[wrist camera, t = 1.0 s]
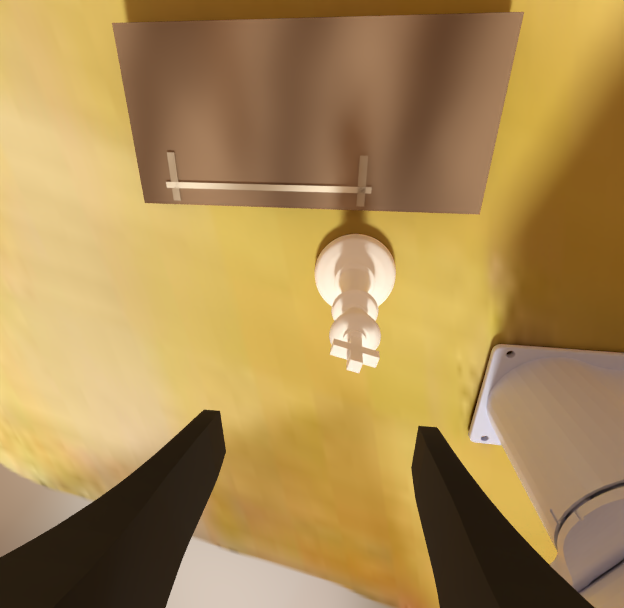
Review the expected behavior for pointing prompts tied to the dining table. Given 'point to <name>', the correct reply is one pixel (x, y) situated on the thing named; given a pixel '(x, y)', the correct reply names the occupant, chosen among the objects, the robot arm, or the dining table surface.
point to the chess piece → (355, 295)
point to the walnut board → (318, 109)
